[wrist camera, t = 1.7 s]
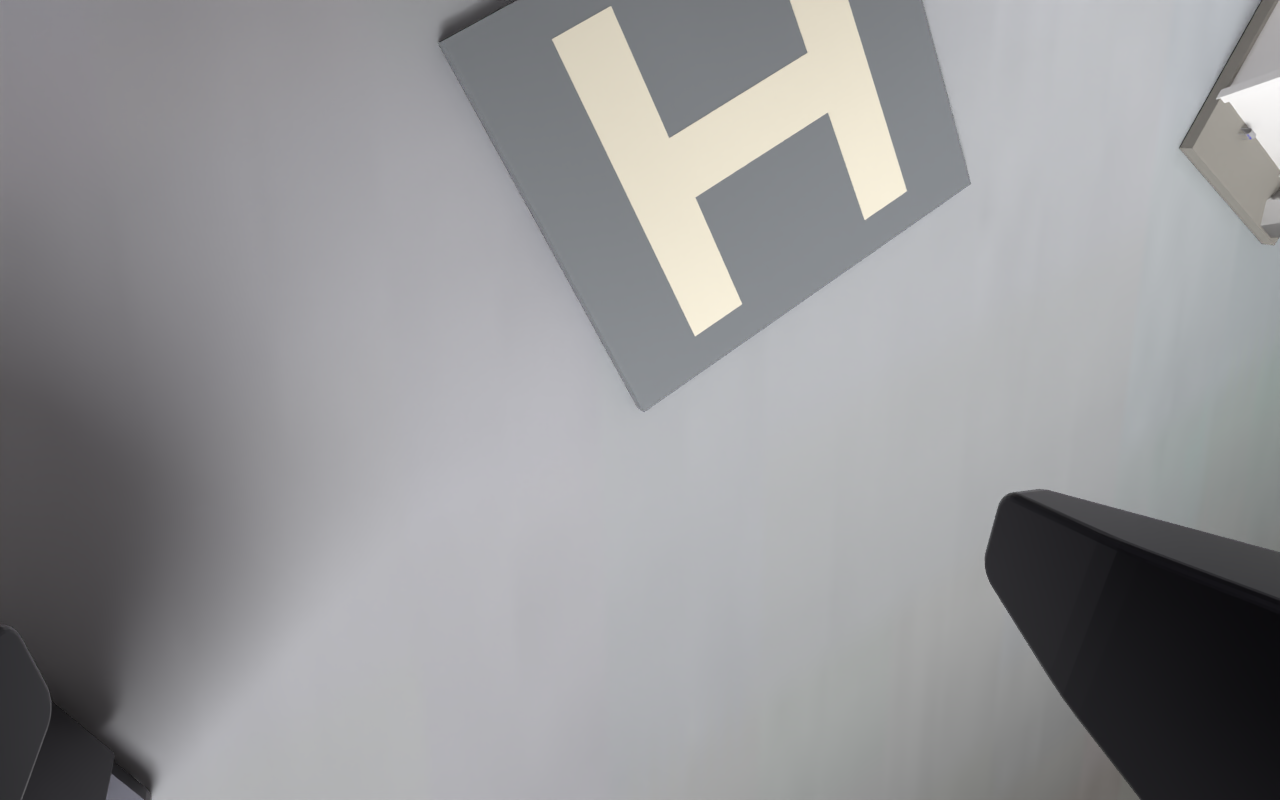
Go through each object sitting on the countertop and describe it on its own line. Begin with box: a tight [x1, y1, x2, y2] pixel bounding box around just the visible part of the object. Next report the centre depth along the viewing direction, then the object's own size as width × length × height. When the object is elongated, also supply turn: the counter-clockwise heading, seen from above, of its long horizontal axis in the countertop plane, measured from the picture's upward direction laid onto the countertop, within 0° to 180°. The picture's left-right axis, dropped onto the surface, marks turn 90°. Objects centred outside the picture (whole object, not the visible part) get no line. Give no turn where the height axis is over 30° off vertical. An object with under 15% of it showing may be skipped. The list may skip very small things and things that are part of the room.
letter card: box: [438, 0, 971, 412], centre depth 21 cm, size 12×10×1 cm
